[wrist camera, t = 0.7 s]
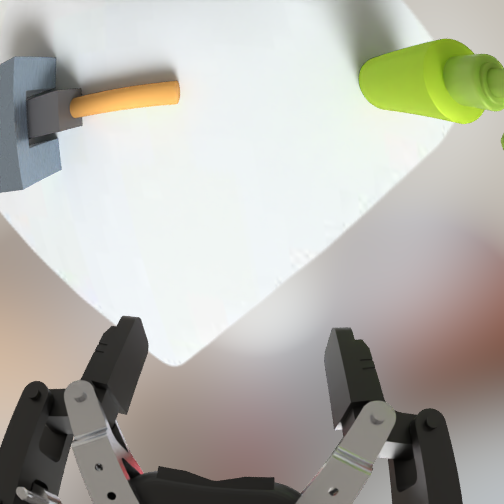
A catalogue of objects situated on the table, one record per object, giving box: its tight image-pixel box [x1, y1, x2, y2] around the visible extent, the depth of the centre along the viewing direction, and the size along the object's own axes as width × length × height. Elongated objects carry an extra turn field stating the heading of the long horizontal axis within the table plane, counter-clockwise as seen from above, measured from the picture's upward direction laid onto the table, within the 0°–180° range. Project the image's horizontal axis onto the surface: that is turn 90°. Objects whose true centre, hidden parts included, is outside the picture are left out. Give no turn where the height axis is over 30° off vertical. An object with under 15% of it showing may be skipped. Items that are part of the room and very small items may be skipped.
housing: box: [0, 57, 62, 193], centre depth 22 cm, size 14×6×8 cm, turn 179°
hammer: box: [26, 81, 180, 139], centre depth 23 cm, size 4×17×4 cm, turn 89°
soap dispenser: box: [359, 39, 504, 150], centre depth 15 cm, size 6×7×20 cm
